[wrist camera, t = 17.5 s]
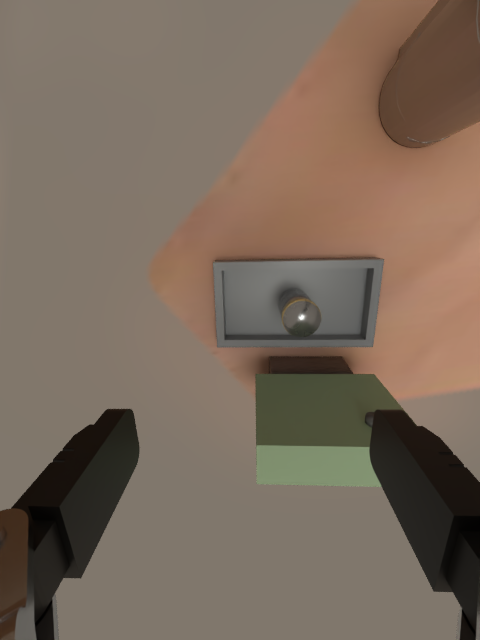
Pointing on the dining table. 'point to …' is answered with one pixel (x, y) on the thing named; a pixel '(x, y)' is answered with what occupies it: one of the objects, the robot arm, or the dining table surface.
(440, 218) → the dining table surface
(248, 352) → the dining table surface
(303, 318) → the pin
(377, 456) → the robot arm
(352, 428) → the control unit
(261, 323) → the parts tray
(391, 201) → the dining table surface
